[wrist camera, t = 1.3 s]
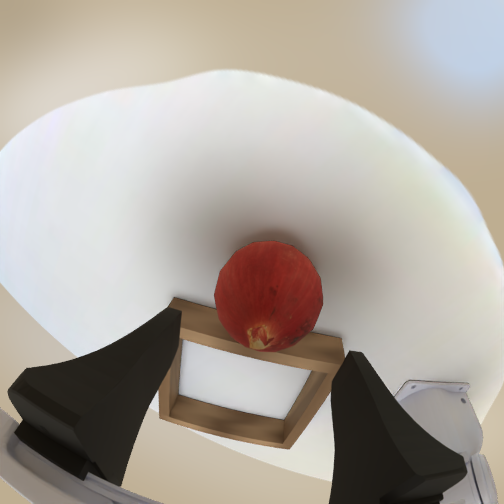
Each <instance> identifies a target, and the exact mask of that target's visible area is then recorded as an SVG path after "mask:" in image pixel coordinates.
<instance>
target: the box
mask: <svg viewBox="0 0 504 504" xmlns="http://www.w3.org/2000/svg"><path fill="white" fill-rule="evenodd" d="M168 307H171V308H174V309H177V310H180V311H182V317H181V327H180V339H179V347H178V350H177V352H176V355H175V357H174V360H173V362H172V365H171V367H170V369H169V371H168V372H167V374H166V376H165V378H164V380H163V381H162V383H161V385H160V387H159V389H158V391H159V416H160V417H159V418H160V419H163V420H166V421H169V422H172V423H175V424H178V425H181V426H184V427H187V428H191V429H194V430H198V431H201V432H205V433H209V434H212V435H216V436H220V437H224V438H229V439H233V440H238V441H242V442H247V443H252V444H258V445H263V446H269V447H276V448H282V449H290V448H291V447H292V445H293V444H294V443H295V442H296V440H297V439H298V438H299V436H300V435H301V434H302V432H303V431H304V429H305V428H306V427H307V425H308V424H309V423H310V421H311V420H312V418H313V417H314V415H315V414H316V413H317V411H318V410H319V408H320V407H321V405H322V404H323V402H324V401H325V399H326V398H327V396H328V395H329V393H330V392H331V384H332V380H333V378H334V376H335V375H336V373H337V371H338V370H339V368H340V366H341V365H342V363H343V361H344V359H345V354H344V349H343V344H342V338H337V337H332V336H327V335H322V334H317V333H312V332H309V333H308V334H307V335H306V336H305V337H304V338H302V339H301V340H300V341H299V342H298V343H297V344H296V345H294V346H292V347H289V348H286V349H283V350H280V351H277V352H259V351H256V350H253V349H250V348H247V347H245V346H243V345H242V344H240V343H239V342H237V341H236V340H235V339H233V338H232V337H231V336H230V335H229V333H228V332H227V331H226V329H225V328H224V326H223V325H222V324H221V322H220V320H219V318H218V313H217V309H213V308H210V307H206V306H202V305H199V304H195V303H192V302H188V301H185V300H181V299H178V298H175V297H174V298H173V300H172V301H171V303H170V304H169V306H168ZM183 339H184V340H188V341H191V342H194V343H198V344H201V345H205V346H208V347H212V348H215V349H219V350H223V351H227V352H230V353H234V354H238V355H242V356H246V357H251V358H255V359H259V360H263V361H268V362H272V363H277V364H282V365H287V366H291V367H297V368H302V369H307V370H312V372H311V374H310V376H309V378H308V379H307V381H306V383H305V385H304V387H303V389H302V390H301V392H300V394H299V396H298V398H297V399H296V401H295V403H294V405H293V406H292V408H291V410H290V412H289V413H288V415H287V417H286V418H285V420H280V419H274V418H269V417H263V416H258V415H254V414H249V413H244V412H240V411H236V410H231V409H227V408H223V407H219V406H216V405H212V404H208V403H204V402H201V401H197V400H194V399H191V398H187V397H184V396H181V395H178V391H179V376H180V363H181V351H182V340H183Z"/></svg>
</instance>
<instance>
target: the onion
mask: <svg viewBox="0 0 504 504" xmlns="http://www.w3.org/2000/svg"><path fill="white" fill-rule="evenodd" d="M214 298H215V304H216V308H217V313H218V318H219V320H220V322H221V324H222V325H223V326H224V328H225V329H226V331H227V332H228V333H229V335H230V336H231V337H232V338H233V339H235V340H236V341H237V342H239V343H240V344H242V345H243V346H245V347H247V348H250V349H253V350H256V351H259V352H277V351H280V350H283V349H286V348H289V347H292V346H294V345H296V344H297V343H298V342H299V341H300V340H301V339H302V338H304V337H305V336H306V335H307V334H308V333H309V332H310V331H312V330H313V328H314V326H315V324H316V321H317V319H318V316H319V314H320V311H321V309H322V306H323V294H322V286H321V278H320V276H319V275H318V273H317V271H316V270H315V268H314V266H313V265H312V263H311V261H310V260H309V259H308V257H306V256H305V255H304V254H303V253H301V252H300V251H299V250H297V249H296V248H295V247H293V246H291V245H288V244H284V243H280V242H277V241H263V242H253V243H251V244H249V245H247V246H245V247H243V248H241V249H240V250H238V251H236V252H235V253H234V255H233V256H232V257H231V258H230V259H229V261H228V262H227V263H226V264H225V266H224V267H223V268H222V269H221V271H220V273H219V277H218V281H217V285H216V289H215V293H214Z"/></svg>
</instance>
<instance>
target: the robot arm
mask: <svg viewBox="0 0 504 504" xmlns="http://www.w3.org/2000/svg"><path fill="white" fill-rule="evenodd" d="M181 317H182V311H180V310H177V309H174V308H171V307H167V308H165V309H164V310H163V311H161V312H160V313H159V314H157V315H156V316H155V317H153V318H152V319H150V320H149V321H148V322H146V323H145V324H143V325H142V326H140V327H139V328H137V329H136V330H134V331H133V332H131V333H129V334H128V335H126V336H124V337H123V338H121V339H119V340H117V341H116V342H114V343H112V344H110V345H108V346H106V347H104V348H102V349H99V350H97V351H95V352H92V353H90V354H87V355H84V356H81V357H78V358H76V359H73V360H69V361H65V362H61V363H57V364H52V365H47V366H39V367H32V368H26V369H25V370H24V371H23V372H22V373H21V375H20V376H19V377H18V378H17V379H16V381H15V382H14V383H13V384H12V385H11V387H10V388H9V389H8V396H9V399H10V400H11V402H12V404H13V405H14V407H15V408H16V410H17V412H18V413H19V414H20V416H21V417H22V419H23V420H22V422H21V423H20V425H19V423H18V422H17V421H16V420H14V419H13V418H12V417H11V416H10V415H8V414H7V413H6V412H5V411H4V410H2V409H1V408H0V478H1V479H2V480H4V481H5V482H6V483H7V484H8V485H9V486H10V487H12V488H13V489H14V490H15V491H17V492H18V493H19V494H20V495H22V496H23V497H24V498H26V499H27V500H28V501H29V502H31V503H32V504H163V503H160V502H157V501H154V500H151V499H149V498H146V497H143V496H140V495H138V494H135V493H133V492H130V491H128V490H125V489H123V488H121V487H120V486H121V484H122V481H123V478H124V474H125V471H126V467H127V464H128V461H129V458H130V455H131V452H132V449H133V445H134V443H135V440H136V437H137V435H138V432H139V429H140V427H141V424H142V422H143V419H144V416H145V414H146V411H147V409H148V407H149V405H150V403H151V401H152V400H153V398H154V396H155V394H156V392H157V391H158V389H159V387H160V385H161V383H162V381H163V380H164V378H165V376H166V374H167V372H168V371H169V369H170V367H171V365H172V362H173V360H174V357H175V355H176V352H177V350H178V347H179V339H180V327H181ZM469 388H470V385H469V383H442V382H424V381H407V382H406V383H405V384H404V385H403V387H402V388H401V389H400V391H399V392H398V393H397V394H396V396H395V397H394V396H393V395H392V394H391V393H390V391H389V390H388V388H387V387H386V386H385V384H384V383H383V381H382V380H381V379H380V377H379V376H378V374H377V373H376V371H375V370H374V368H373V367H372V366H371V364H370V363H369V361H368V360H367V358H366V357H365V356H364V354H363V353H362V352H356V351H349V352H348V354H347V356H346V358H345V359H344V361H343V363H342V365H341V366H340V368H339V370H338V371H337V373H336V375H335V376H334V378H333V380H332V384H331V409H332V420H333V431H334V443H335V455H334V470H333V480H332V488H331V495H330V500H329V504H498V501H497V492H496V487H495V483H494V480H493V476H492V473H491V470H490V467H489V464H488V462H487V460H486V457H485V456H484V455H483V454H479V452H480V450H481V447H482V442H483V432H482V428H481V425H480V423H479V421H478V418H477V416H476V413H475V411H474V409H473V407H472V404H471V402H470V400H469V398H468V396H467V393H466V392H467V390H468V389H469Z"/></svg>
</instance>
